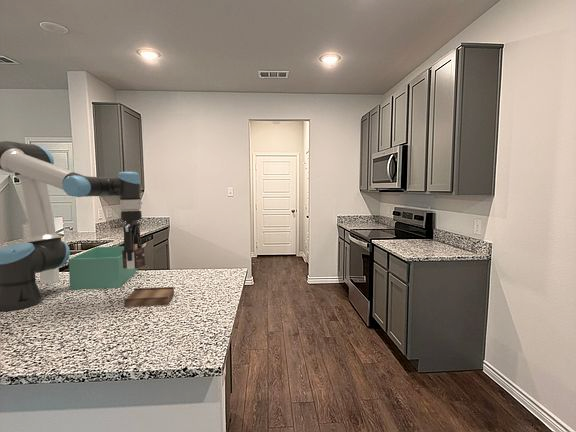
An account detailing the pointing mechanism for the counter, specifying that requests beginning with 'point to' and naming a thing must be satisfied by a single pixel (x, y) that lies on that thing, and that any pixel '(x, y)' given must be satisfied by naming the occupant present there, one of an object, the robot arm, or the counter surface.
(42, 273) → the milk
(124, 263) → the box
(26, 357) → the counter surface
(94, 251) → the box
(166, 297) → the dock
